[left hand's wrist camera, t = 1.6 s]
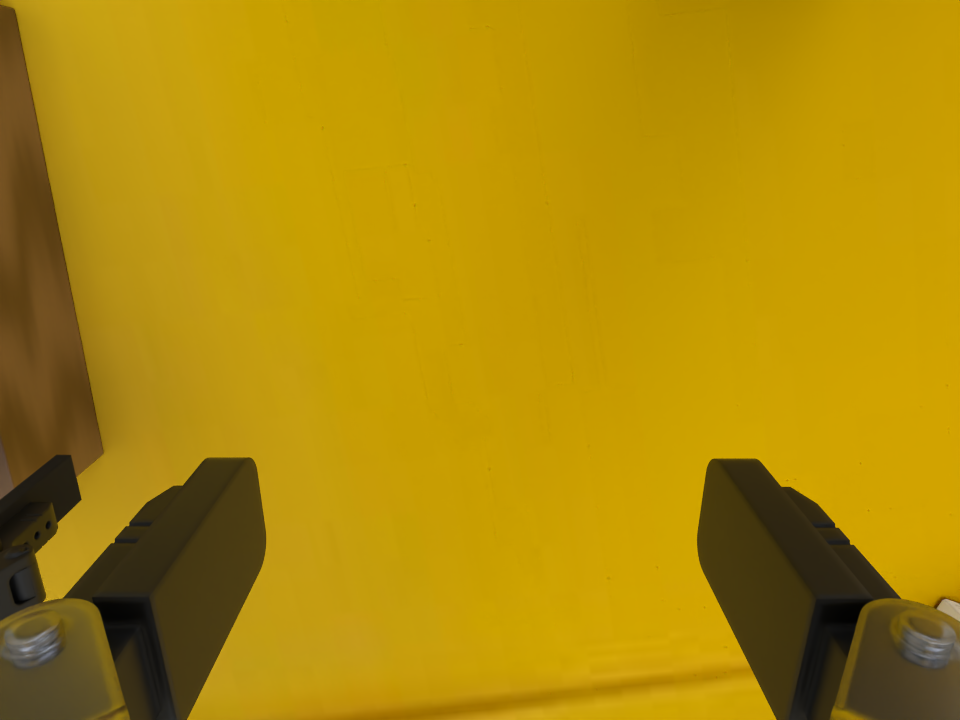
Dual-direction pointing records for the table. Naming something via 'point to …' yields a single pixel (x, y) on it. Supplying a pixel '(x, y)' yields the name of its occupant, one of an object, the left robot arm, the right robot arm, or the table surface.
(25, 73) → the bar
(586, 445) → the table surface
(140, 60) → the table surface
